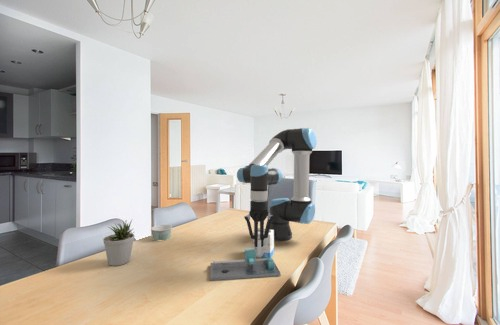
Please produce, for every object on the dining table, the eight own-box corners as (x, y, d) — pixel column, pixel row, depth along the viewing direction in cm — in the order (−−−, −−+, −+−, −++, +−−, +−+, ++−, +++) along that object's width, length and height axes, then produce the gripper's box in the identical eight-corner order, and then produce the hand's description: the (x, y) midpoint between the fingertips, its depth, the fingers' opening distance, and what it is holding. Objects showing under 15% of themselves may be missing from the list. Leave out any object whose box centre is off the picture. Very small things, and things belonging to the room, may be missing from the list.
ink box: (274, 252, 125) (274, 226, 125) (270, 258, 118) (270, 230, 117) (258, 250, 128) (258, 224, 128) (253, 256, 120) (253, 229, 120)
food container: (155, 243, 139) (155, 231, 139) (147, 238, 148) (147, 227, 148) (175, 238, 147) (175, 227, 147) (167, 234, 156) (167, 223, 156)
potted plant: (102, 271, 104) (101, 224, 104) (104, 259, 116) (103, 217, 116) (135, 265, 110) (135, 220, 109) (133, 255, 122) (133, 214, 122)
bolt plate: (272, 261, 114) (272, 252, 114) (280, 275, 100) (280, 265, 100) (210, 265, 110) (210, 256, 110) (210, 280, 96) (210, 270, 96)
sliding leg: (253, 261, 110) (253, 248, 110) (256, 269, 103) (256, 255, 103) (244, 262, 110) (244, 248, 110) (247, 269, 102) (247, 255, 102)
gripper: (271, 198, 113) (271, 250, 113) (243, 199, 111) (242, 251, 111) (275, 201, 106) (275, 256, 106) (245, 202, 104) (245, 258, 104)
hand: (258, 254), depth 109 cm, fingers closed
